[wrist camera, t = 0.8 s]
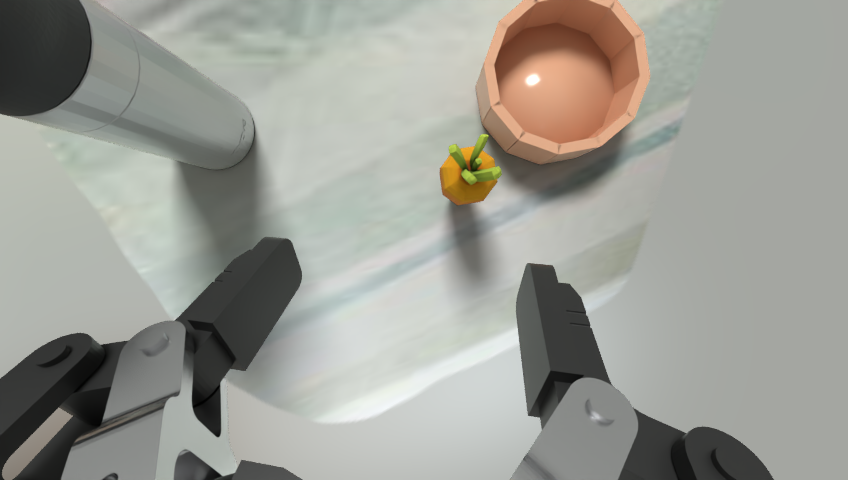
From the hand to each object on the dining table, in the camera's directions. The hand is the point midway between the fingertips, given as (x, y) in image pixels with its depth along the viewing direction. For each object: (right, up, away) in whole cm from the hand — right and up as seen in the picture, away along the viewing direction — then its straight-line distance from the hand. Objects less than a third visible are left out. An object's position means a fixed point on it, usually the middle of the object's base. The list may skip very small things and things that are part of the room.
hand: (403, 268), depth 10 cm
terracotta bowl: (+15, +18, +25) cm, 34 cm away
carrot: (+5, +7, +25) cm, 27 cm away
